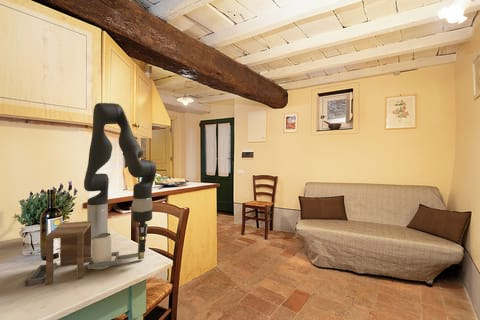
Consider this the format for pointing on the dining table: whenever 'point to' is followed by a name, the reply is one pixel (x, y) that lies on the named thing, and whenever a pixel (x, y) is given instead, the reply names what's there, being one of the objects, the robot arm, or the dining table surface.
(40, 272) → the pit trap
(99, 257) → the can
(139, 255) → the lever handle
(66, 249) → the brown wooden stool
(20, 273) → the dining table surface
